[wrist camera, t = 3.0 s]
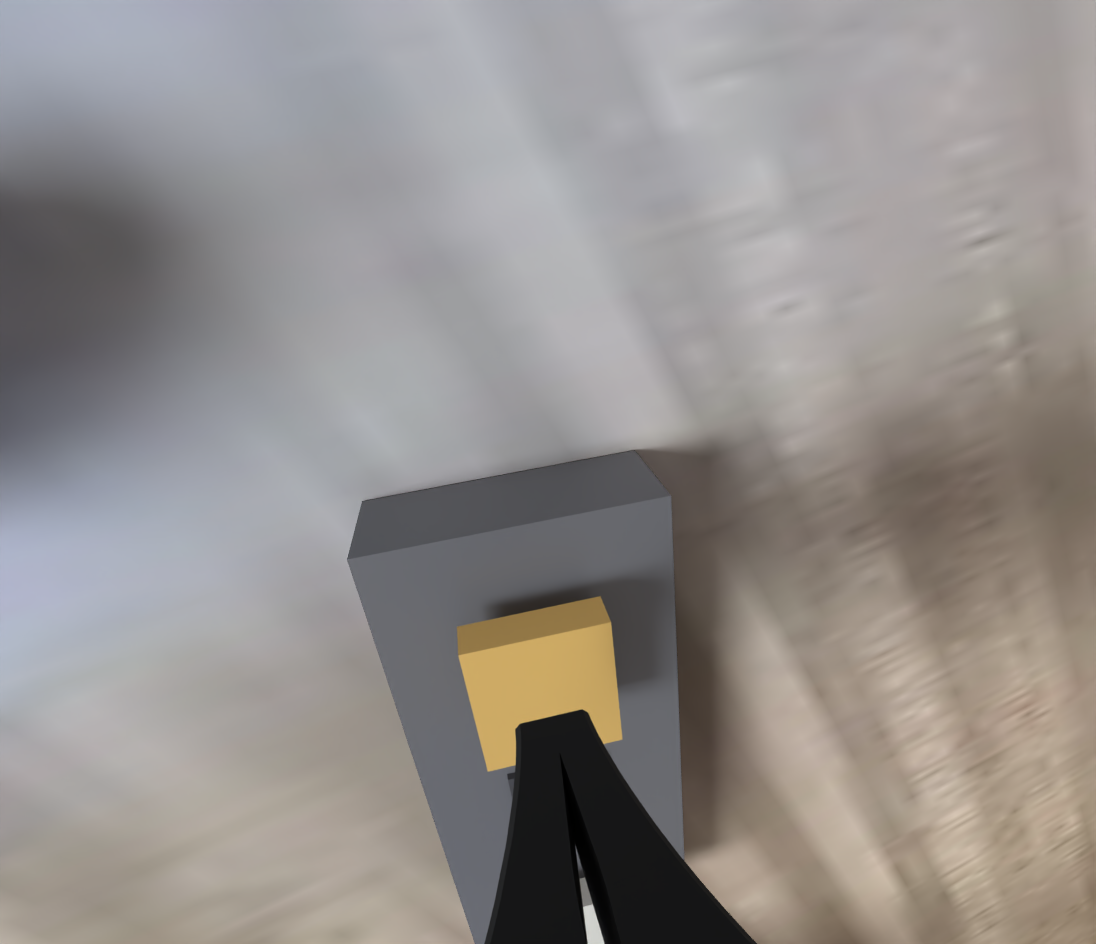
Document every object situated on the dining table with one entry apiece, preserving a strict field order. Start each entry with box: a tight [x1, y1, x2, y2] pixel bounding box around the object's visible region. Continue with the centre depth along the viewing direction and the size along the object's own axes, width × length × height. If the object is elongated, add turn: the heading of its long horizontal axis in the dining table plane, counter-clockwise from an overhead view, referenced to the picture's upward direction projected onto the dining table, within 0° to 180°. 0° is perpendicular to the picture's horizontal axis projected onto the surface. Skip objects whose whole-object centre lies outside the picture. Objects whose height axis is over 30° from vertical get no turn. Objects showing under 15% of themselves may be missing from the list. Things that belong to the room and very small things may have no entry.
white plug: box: [580, 878, 604, 944], centre depth 20 cm, size 4×4×1 cm
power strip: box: [347, 450, 684, 944], centre depth 20 cm, size 23×8×3 cm, turn 7°
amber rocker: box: [457, 596, 622, 772], centre depth 15 cm, size 4×4×1 cm
